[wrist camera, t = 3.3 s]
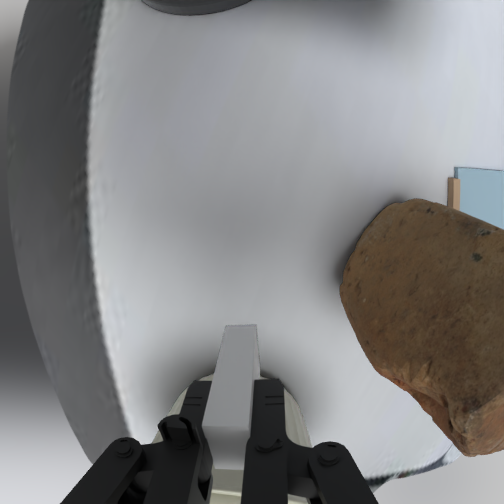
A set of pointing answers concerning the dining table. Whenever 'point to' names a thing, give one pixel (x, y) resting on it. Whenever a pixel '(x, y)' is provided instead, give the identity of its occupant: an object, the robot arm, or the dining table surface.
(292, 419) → the canister
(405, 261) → the pitted brown rock
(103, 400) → the dining table surface
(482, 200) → the book
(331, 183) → the dining table surface
